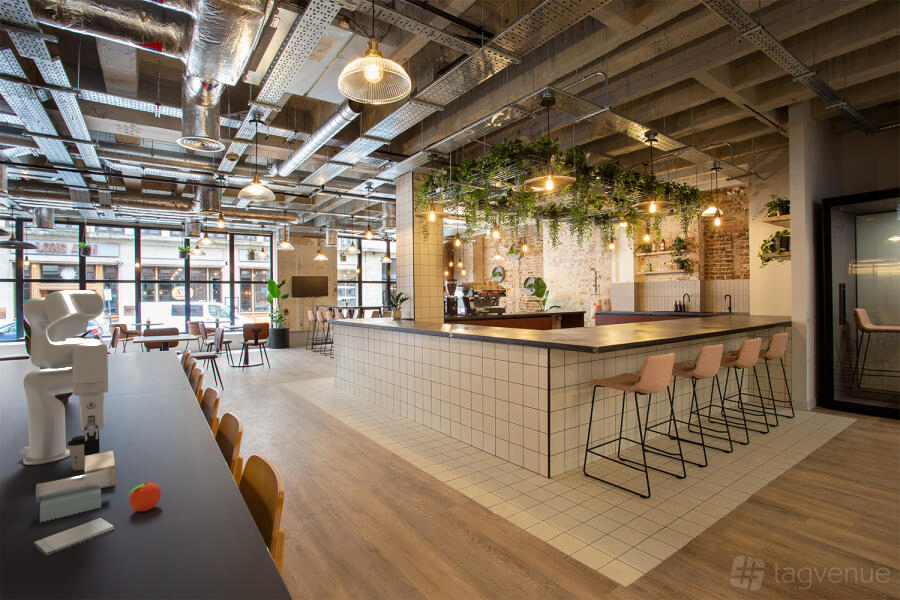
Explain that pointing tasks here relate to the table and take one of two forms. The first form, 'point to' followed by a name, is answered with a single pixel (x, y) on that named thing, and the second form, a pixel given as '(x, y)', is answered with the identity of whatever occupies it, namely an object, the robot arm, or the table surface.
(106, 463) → the beam
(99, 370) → the robot arm
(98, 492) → the v block
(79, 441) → the coffee cup
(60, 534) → the hard drive
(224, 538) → the table surface
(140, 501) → the clementine
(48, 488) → the axle
